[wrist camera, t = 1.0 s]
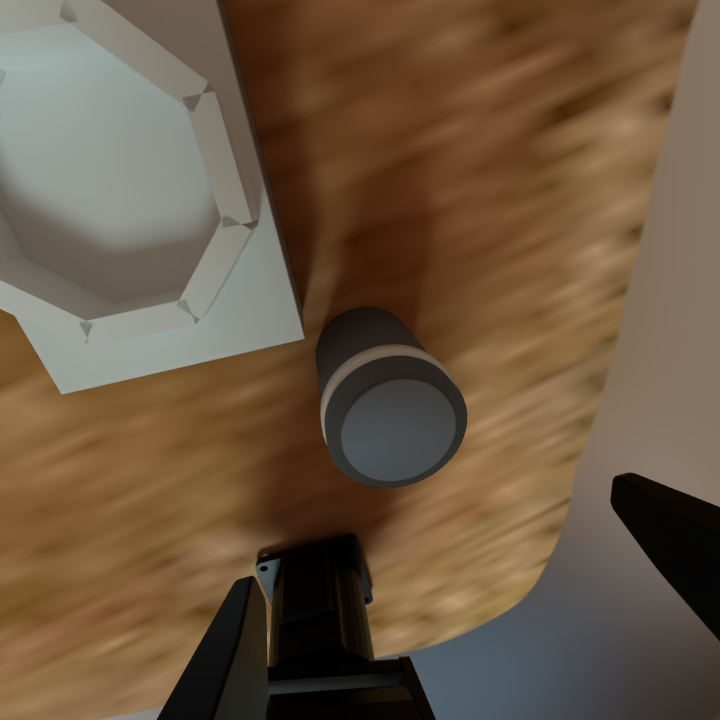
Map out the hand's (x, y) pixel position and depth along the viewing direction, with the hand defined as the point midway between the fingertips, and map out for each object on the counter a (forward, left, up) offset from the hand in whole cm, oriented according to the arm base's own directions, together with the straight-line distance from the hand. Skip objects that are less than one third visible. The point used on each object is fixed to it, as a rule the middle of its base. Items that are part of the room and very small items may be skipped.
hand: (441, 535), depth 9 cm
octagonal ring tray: (+9, +7, -11) cm, 16 cm away
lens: (0, 0, -11) cm, 11 cm away
